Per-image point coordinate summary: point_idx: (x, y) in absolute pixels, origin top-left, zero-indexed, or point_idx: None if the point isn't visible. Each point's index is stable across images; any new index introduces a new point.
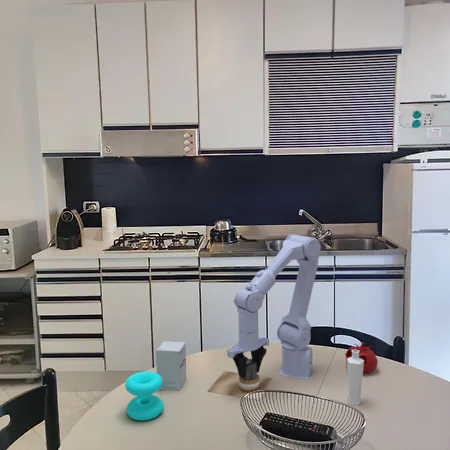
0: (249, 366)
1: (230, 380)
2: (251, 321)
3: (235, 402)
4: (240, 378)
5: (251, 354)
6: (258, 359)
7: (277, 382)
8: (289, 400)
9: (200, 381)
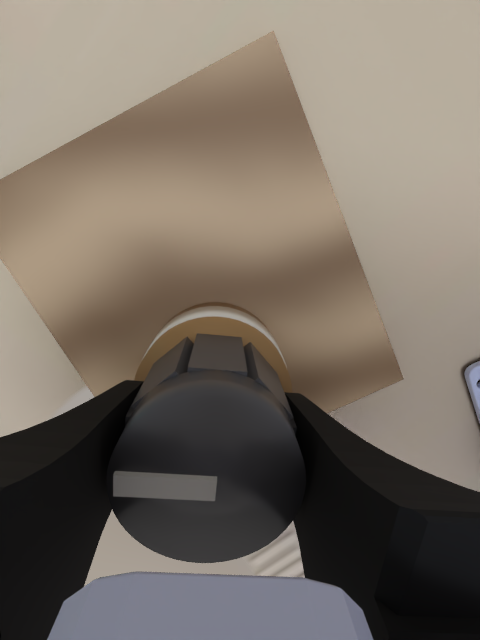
0: (150, 542)
1: (196, 202)
2: None
3: (57, 404)
4: (142, 375)
5: (338, 467)
6: (308, 564)
7: (390, 410)
8: (278, 551)
9: (22, 5)
